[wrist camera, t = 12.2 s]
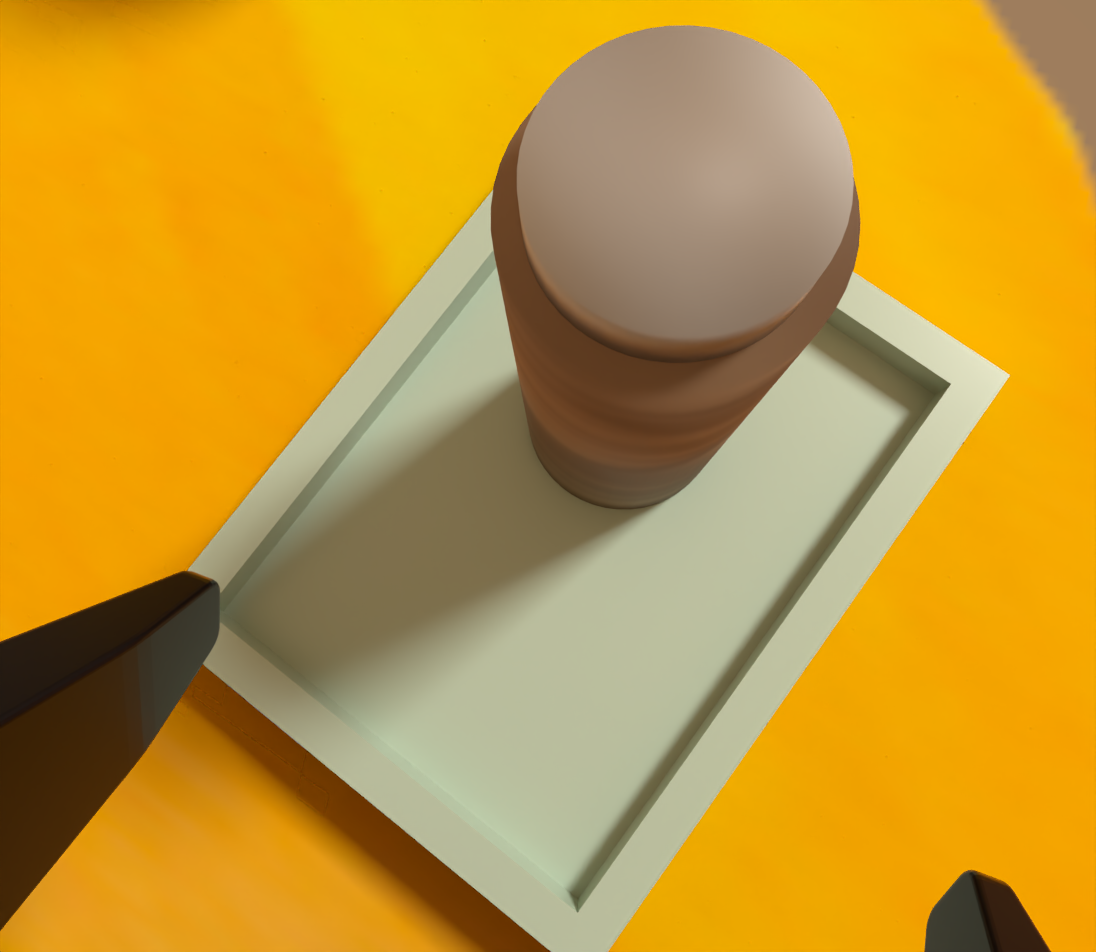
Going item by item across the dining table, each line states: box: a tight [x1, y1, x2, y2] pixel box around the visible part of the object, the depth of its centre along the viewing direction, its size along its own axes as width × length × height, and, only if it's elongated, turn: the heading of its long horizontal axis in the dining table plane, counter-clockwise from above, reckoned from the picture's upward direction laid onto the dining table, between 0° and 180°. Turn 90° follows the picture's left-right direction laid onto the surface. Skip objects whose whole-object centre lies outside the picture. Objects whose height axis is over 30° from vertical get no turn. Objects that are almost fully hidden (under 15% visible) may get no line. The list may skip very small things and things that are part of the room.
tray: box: [187, 190, 1010, 952], centre depth 22 cm, size 17×13×2 cm
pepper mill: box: [491, 26, 860, 509], centre depth 16 cm, size 5×5×12 cm
